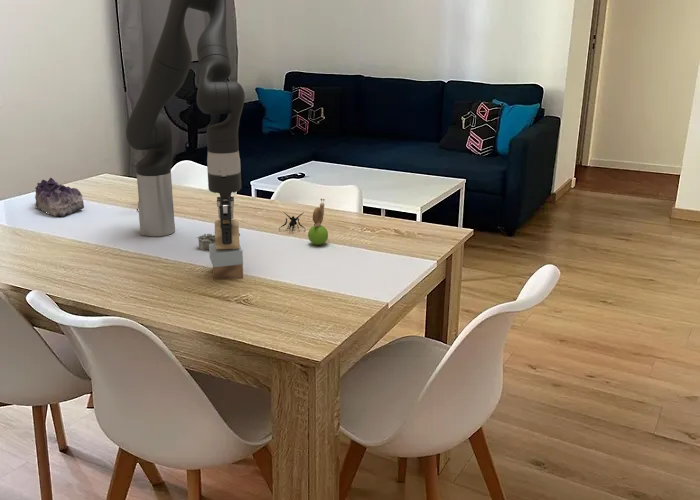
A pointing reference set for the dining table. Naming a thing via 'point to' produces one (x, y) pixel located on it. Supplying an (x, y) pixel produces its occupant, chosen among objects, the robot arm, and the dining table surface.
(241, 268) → the tower base
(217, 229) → the oak cube
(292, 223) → the creature
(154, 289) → the dining table surface
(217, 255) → the tower top
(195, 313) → the dining table surface
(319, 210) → the snail figurine
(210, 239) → the grey stone ruin model
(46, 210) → the geode
